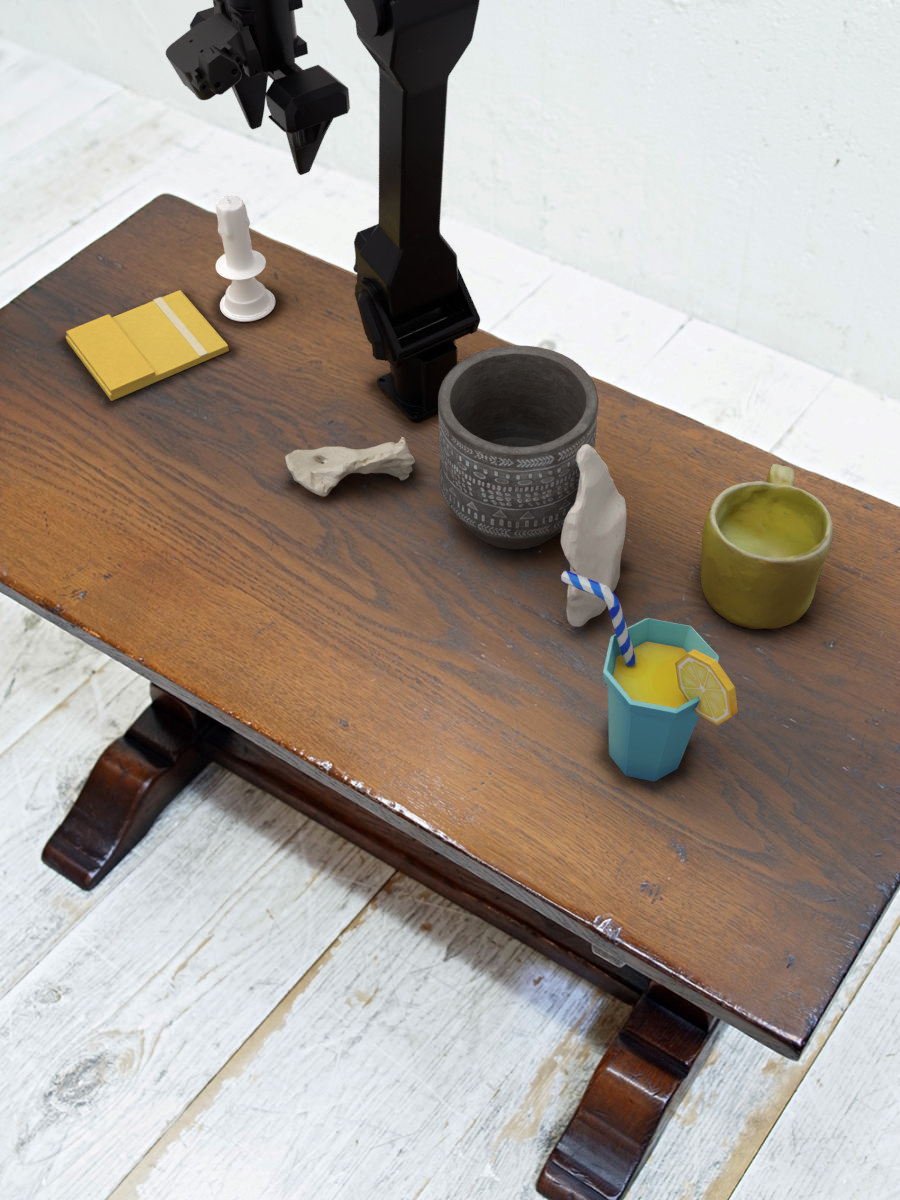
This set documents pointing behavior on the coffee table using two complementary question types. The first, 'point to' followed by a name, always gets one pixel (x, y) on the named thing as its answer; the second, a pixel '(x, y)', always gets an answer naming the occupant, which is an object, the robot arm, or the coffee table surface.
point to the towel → (145, 344)
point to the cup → (656, 688)
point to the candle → (240, 265)
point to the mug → (764, 551)
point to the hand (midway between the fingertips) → (279, 149)
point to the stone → (593, 535)
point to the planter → (514, 442)
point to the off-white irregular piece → (347, 464)
